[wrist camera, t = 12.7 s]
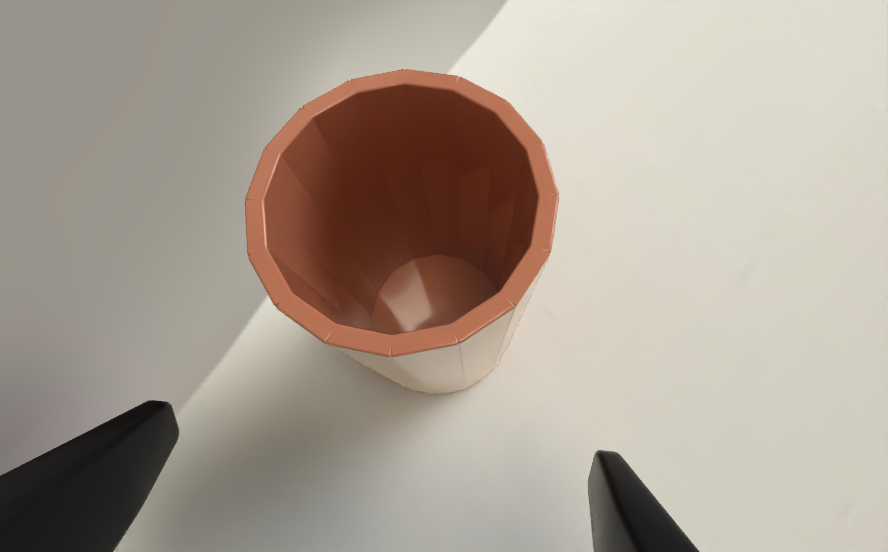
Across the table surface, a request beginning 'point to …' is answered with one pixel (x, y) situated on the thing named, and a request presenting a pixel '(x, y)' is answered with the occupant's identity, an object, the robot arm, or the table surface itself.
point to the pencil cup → (405, 224)
